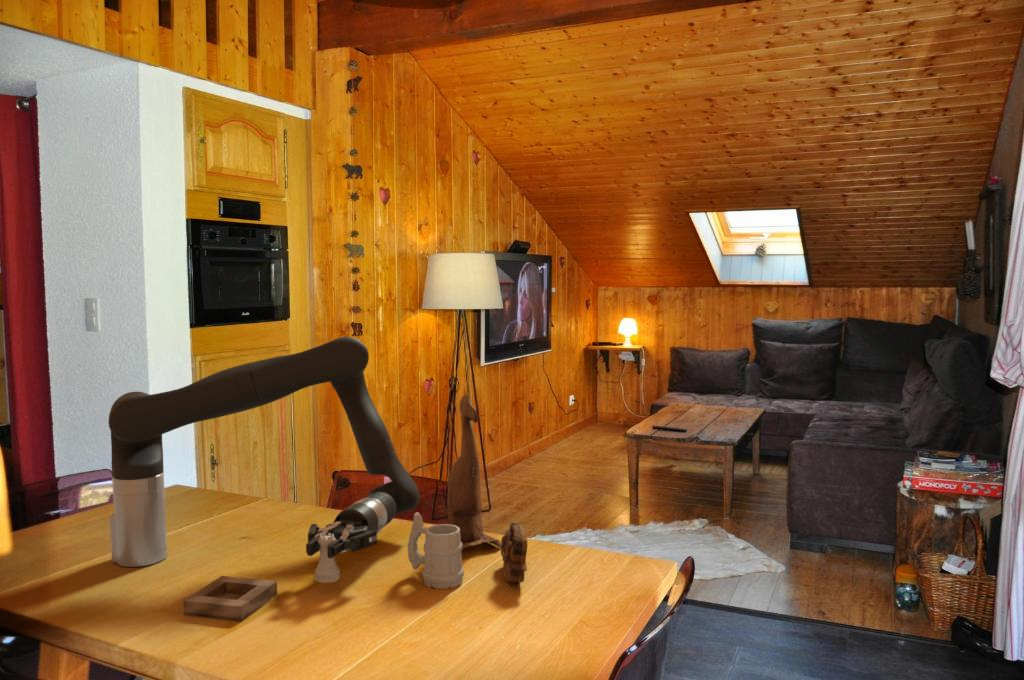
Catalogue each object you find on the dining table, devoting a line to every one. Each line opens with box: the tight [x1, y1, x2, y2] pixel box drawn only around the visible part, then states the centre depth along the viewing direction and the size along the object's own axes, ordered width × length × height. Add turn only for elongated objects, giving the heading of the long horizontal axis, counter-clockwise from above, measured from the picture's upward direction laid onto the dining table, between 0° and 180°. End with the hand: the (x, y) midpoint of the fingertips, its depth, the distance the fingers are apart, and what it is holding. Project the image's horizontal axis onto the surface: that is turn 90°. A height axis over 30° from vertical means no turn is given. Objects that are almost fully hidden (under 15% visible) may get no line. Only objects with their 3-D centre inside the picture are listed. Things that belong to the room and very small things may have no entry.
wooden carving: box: [500, 522, 528, 583], centre depth 150 cm, size 16×5×10 cm, turn 12°
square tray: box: [182, 575, 278, 622], centre depth 139 cm, size 11×11×2 cm
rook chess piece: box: [314, 533, 341, 584], centre depth 144 cm, size 4×4×8 cm
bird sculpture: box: [447, 394, 501, 550], centre depth 166 cm, size 11×12×32 cm
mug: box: [407, 511, 465, 590], centre depth 150 cm, size 8×12×12 cm, turn 59°
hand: (319, 551), depth 141 cm, fingers closed on rook chess piece, 3 cm apart
